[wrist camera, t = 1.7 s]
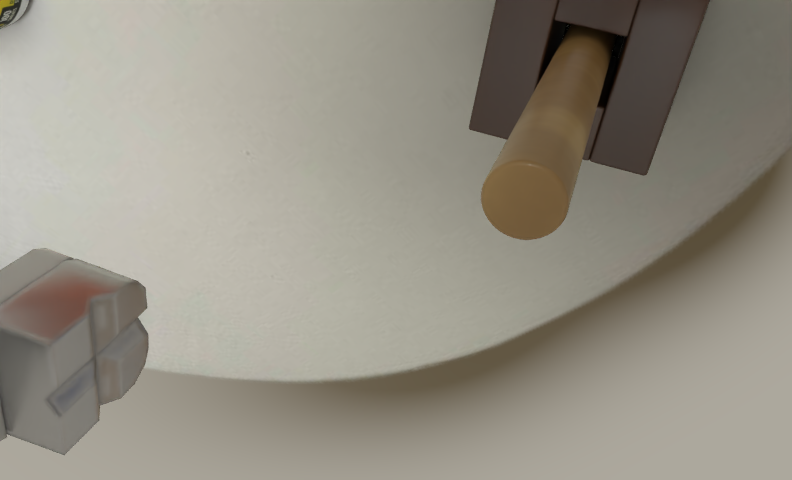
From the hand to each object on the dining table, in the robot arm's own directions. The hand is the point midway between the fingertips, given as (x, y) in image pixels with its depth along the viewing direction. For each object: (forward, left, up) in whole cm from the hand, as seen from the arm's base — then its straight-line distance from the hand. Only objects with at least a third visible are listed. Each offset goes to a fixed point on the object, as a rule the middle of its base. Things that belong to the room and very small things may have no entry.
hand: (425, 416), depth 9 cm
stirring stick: (0, 0, -25) cm, 25 cm away
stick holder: (0, 0, -25) cm, 25 cm away
